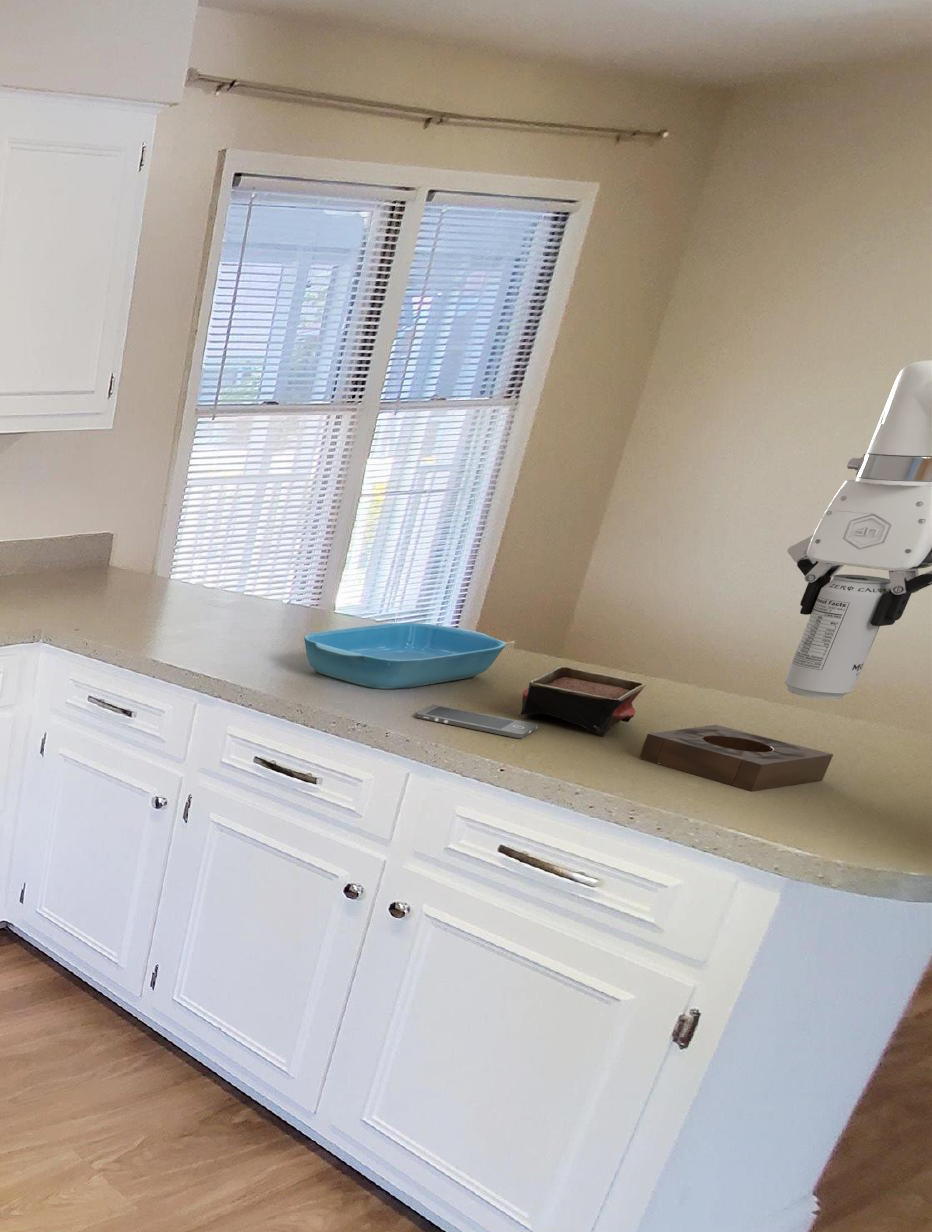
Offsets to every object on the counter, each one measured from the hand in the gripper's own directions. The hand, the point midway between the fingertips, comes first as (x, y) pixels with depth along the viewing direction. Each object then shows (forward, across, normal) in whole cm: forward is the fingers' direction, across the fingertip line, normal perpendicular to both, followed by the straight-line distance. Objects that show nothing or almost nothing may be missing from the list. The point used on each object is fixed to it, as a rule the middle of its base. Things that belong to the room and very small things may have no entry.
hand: (845, 617), depth 128 cm
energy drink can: (+10, 0, 0) cm, 10 cm away
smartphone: (+26, -38, -2) cm, 46 cm away
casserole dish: (+26, -66, +13) cm, 72 cm away
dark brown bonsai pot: (+26, -34, +13) cm, 45 cm away
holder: (+26, -11, +11) cm, 30 cm away
